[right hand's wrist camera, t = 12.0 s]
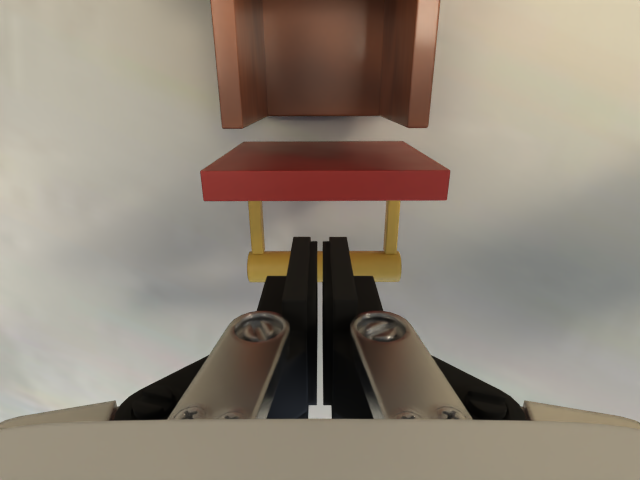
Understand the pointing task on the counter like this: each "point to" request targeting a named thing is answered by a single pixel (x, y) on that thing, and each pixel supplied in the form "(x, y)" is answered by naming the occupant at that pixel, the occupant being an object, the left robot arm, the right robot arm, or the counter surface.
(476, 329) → the counter surface
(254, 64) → the drawer
